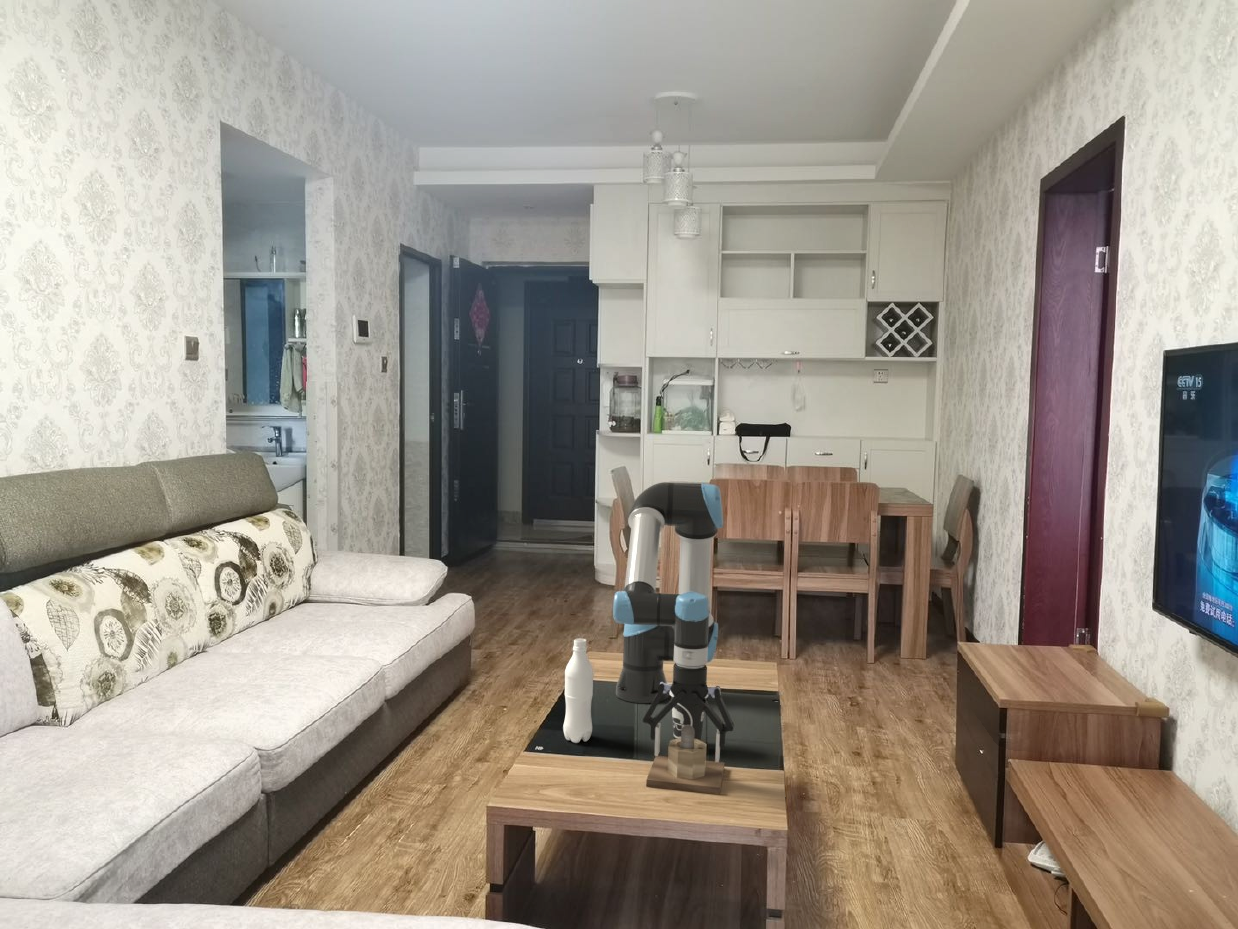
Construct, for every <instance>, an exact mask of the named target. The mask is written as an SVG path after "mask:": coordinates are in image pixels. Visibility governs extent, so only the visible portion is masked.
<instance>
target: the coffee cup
mask: <svg viewBox="0 0 1238 929" xmlns="http://www.w3.org/2000/svg"><path fill="white" fill-rule="evenodd" d="M668 695H669V696H671V699H672V698H673V697H674V695H673V694H672V692H671V690H669V692H668ZM707 698H709V693H708V694H707V696H706V697H705V699H706V700H707ZM671 699H670V700H671ZM671 713H672V714H671V717H672V733H673V734H672V735H673V736H672V737H673V740H674V739H679V738H681V730H682V728H683V726H685V725H691V726H692V727H693V728H694V731H695V736H694V739H698V740H700V741H702V737H703V736H702V735H703V727H704V720H705V718H704V717H705V712H704V710H702V709H701V708H700V706H699V705H697V706H695V707H692V706H689V705H687V706H682V705H681V704H679V703H677V704H676V705H675V706H674V707H673V708H672V709H671Z"/></svg>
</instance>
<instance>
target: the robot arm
mask: <svg viewBox="0 0 1238 929" xmlns="http://www.w3.org/2000/svg"><path fill="white" fill-rule="evenodd" d="M721 494H722V493H721V489H720V487H719V486H718V485H715V484H708V483H704V482H701V483H693V482H691V483H689V482H667V481H666V482H665V481H664V482H662V481H661V482H658V483H655V484H653V485H651V486H649V487H648V488H646V489H645V490H644V491H642V492H641V493H640V494H639V495H638V496H637V497H636V499H635V500H634V501H633V503H632V505H631V507H630V510H629V512H628V519H627V520H628V521H627V522H628V526H629V528H630V536H629V537H630V538H629V545H628V554H627V563H626V571H625V578H624V589H623V590H618V591H616V592H615V593H614V596H613V608H612V610H613V611H612V613H613V614H612V617H613V620H614V622H615V623H617V624H624V627H623V633H622V636H623V647H622V648H623V649H622V650H623V651H622V652H623V654H622V658H623V659H622V669H621V672H620V674H619V677H618V681H617V682H616V686H615V695H616V697H617V698H618V699H620V700H622V701H624V702H625V701H626V702H630V703H636V704H650V705H649V707H648V709H647V711H646V713H645V714H644V717H643V719H642V722H643V723H644V724H648V725H649V726H650V740H652V741H654V756H655V757H656V756H659V754H660V750H661V748H660V747H661V723H660V722H661V720H662V719H664V718H665V717H666V715H668V713H670V712H671V711H672V708H673V707H674V706H675V705H676V704H677V703H679V704H681V705H682V706H687V705H689V706H692V707H695V706H697V705H699V706H700V708H701V709H702V710H704V714H705V715H707V717H708V718H709V720H710V721H711V722H712V723H713V725H714V727H715V728H716V736H715V754H714V756H715V757H714V758H715V759H714V762H720V757H721V756H720V753H721V747H723V748H724V747H725V745H726V733H727V732H733V731H734V727H735V723H734V722H733V719H732V717H731V715H730V712H729V710H728V708H727V706H726V703H725V702H724V699H723V696H722V692H721V691H722V690H721V686H719V685H716V686H715V687H708V684H707V682H708V680H707V679H708V666H707V664H708V663H710V662H712V660H713V659H714V657H715V654H716V648H717V645H718V644H717V643H718V634H719V623H718V622H715V621H714V617H713V615H712V613H710V585H711V584H710V583H711V582H710V580H711V566H712V564H711V563H712V562H711V561H712V559H711V557H712V541H713V540H712V539H713V538H715V537H716V536H717V535H718V533H719V532H718V531H719V530H718V529H722V528H723V527H724V516H723V506H722V495H721ZM665 526H667V527H669V526H670V527H671V526H672V527H674V532H675V534H676V535H677V536H678V538H679V562H678V563H679V566H678V568H679V569H678V593H663V592H662V593H661V592H656V589H657V576H658V575H657V574H658V565H659V564H658V562H659V548H660V540H661V539H660V538H661V532H662V531H663V529H664V527H665ZM664 662H674V664H673V667H672V668H673V669H672V673H673V674H672V683H671V684H669V683H668V682H667V679H666V678H667V677H666V675H665V670H664ZM670 690H671V692H672V694H673V695H674V697H673V698H672V699H670V700H669V701H668V702H667V703H666V704H665V706H664V707H662V709H661V710H660V711H658V713H657V714H656V715H654V717H653V716H652V715H653V713H654V711H655V710H656V708H657V706H658V705H659V704H660V702H663V701H665V700H667V699H668V698H669V691H670ZM707 694H708V695H710V696H711V697H712V699H714V700H715V701H714V702H715V704H716V706H717V708H718V710H719V712H720V715H721V717H722V719H723V721H722V719H721V718H720V716H718V714H717V713H716V712H715V710H714V709H713V707H712V706H711V704H709V701H708V700H707V698H706V699H705V697H706V696H707Z"/></svg>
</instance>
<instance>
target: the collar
mask: <svg viewBox="0 0 1238 929" xmlns="http://www.w3.org/2000/svg"><path fill="white" fill-rule="evenodd" d="M667 748H668V749H667V751H668V752H667V755H668V756H667V757H668V773H670V774H672V775H673V776H675V777H677V778H686V779H695V778H699V777H702V776H704V775H705V771H706V761H707V743H705V742H704V741H702V740H701V741H700V740H698V739H694V749H682V748H681V738H679V739H674V738H673V739H671V740H669V743H668V747H667Z"/></svg>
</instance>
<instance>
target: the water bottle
mask: <svg viewBox="0 0 1238 929" xmlns="http://www.w3.org/2000/svg"><path fill="white" fill-rule="evenodd" d="M572 651H573V652H572V656H571V658H570V659H569V661H568V663H567V664H566V667H565V671H564V698H565V699H564V700H565V716H564V722H563V726H562V730H563V734H564V738H565V739H566V740H567V741H571V742H572V743H574V744H579V743H580V741H581V740H582V741H583V742H587V741H589V739H590V738H591V735H592V732H593V723H592V714H591V713H592V712H591V711H592V710H591V707H592V700H593V696H594V693H593V692H594V691H593V690H594V674H595V673H594V667H593V665H592V663H591V661H590V660H589V658H588V655H587V651H588V648H587V639H586V638H575V639H574V640H573V647H572Z"/></svg>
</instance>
